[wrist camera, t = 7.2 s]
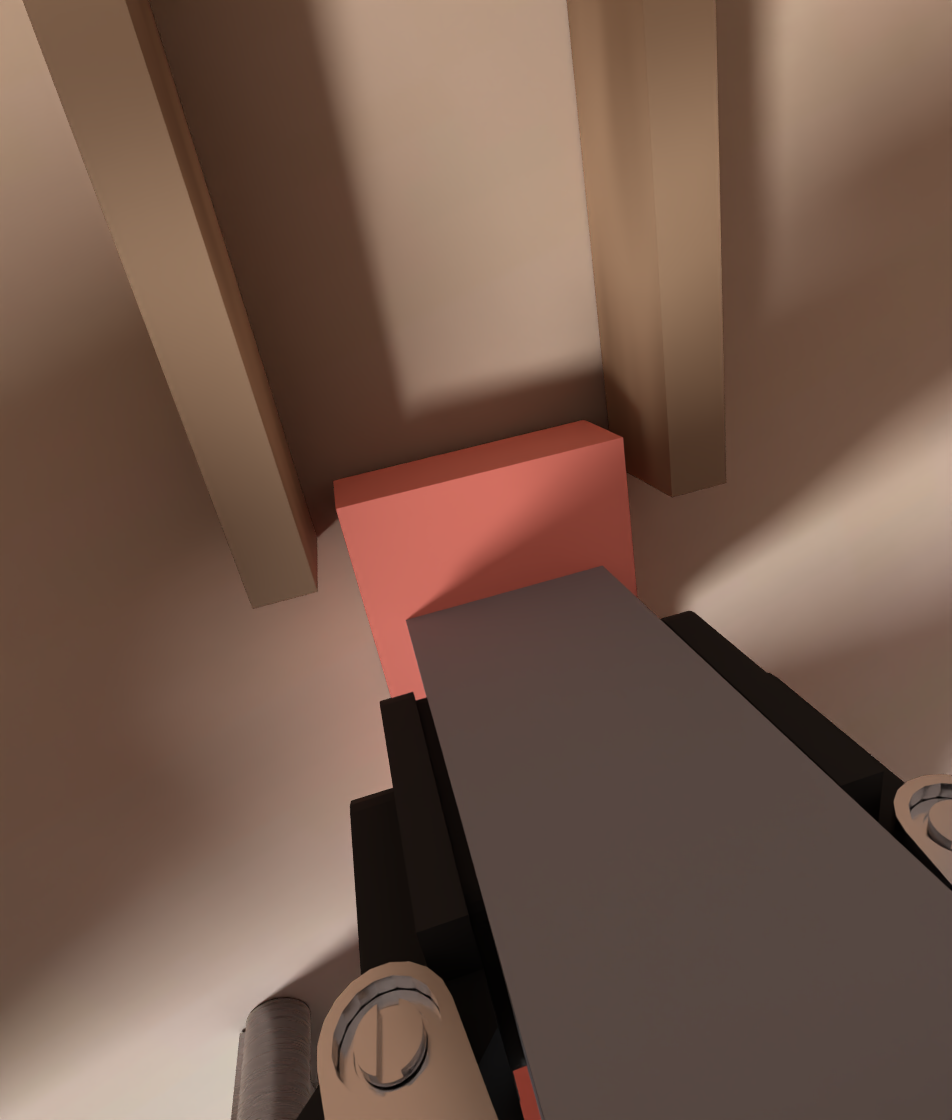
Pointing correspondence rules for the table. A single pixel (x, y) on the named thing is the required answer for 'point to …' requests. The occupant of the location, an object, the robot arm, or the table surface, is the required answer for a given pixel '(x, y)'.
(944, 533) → the table surface
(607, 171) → the brown wooden rectangular frame
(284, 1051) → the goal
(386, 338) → the table surface
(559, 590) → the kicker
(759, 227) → the table surface
